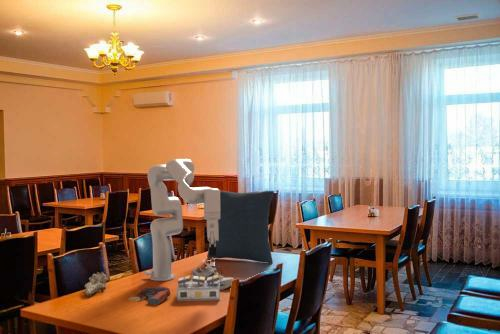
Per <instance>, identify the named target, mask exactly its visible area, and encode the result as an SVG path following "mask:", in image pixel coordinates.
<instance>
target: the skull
mask: <svg viewBox="0 0 500 334" xmlns="http://www.w3.org/2000/svg"><path fill="white" fill-rule="evenodd" d="M88 280H89V282H87V283H85V285H84V288H85V290H84V293H85V295H86V296H87V297H88V296H90V297H92V296H93V295H94V294H96V293H95V292H97V291H100V290H104V291H105V290H106V289H107V286H106V283H107V281H109V279H108V277H107V275H106V274H105V273H104V272H103V271H101V272H100V271H99V272H98V271H97V272H96V273H93V274H92V276H90V277H89V278H88ZM100 292H101V291H100ZM97 293H98V292H97ZM92 294H93V295H92Z"/></svg>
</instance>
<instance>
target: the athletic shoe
mask: <svg viewBox="0 0 500 334" xmlns="http://www.w3.org/2000/svg"><path fill="white" fill-rule="evenodd" d="M215 275H219V280H220V291H222V290H226V289H228V288H230V287H231V283H232V281H233V280H235V278H234V277H224V275H221V273H219V272H218V271H217V268H216V267H212V264H207V265H206V266H205V267H204V269H201V267H199V266H198V267H196V268H194V269H193V270H192V274H191V281H192V280H193V276H199V277H205V280H207V278H208V277H211V276H212V277H213V276H215Z"/></svg>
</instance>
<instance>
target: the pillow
mask: <svg viewBox="0 0 500 334" xmlns="http://www.w3.org/2000/svg"><path fill="white" fill-rule="evenodd" d="M274 194H275V190H264V191H261V192H259V191H258V192H257V191H256V192H255V191H254V192H253V191H252V192H250V191H249V192H234V191H225V190H220V217H221V218H220V219H218V222H219V240H218V241H217V240H216V256H209V249H208V250H207V255H206V256H207V259H236V260H245V261H246V260H247V261H248V260H249V261H254V262H259V263H268V264H270V263H272V264H273V263H274V262H273V257H272V250H271V245H270V242H269V217H270V207H271V206H270V205H271V202H272V199H273V196H274ZM209 246H210V242H209V245H208V247H209ZM212 257H213V258H212Z"/></svg>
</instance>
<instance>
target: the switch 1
mask: <svg viewBox="0 0 500 334" xmlns="http://www.w3.org/2000/svg"><path fill="white" fill-rule="evenodd" d="M191 280H192V275H186V276H183V277H179V278H178V280H177V285H178V284H181V283H185V282H189V281H191Z"/></svg>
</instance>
